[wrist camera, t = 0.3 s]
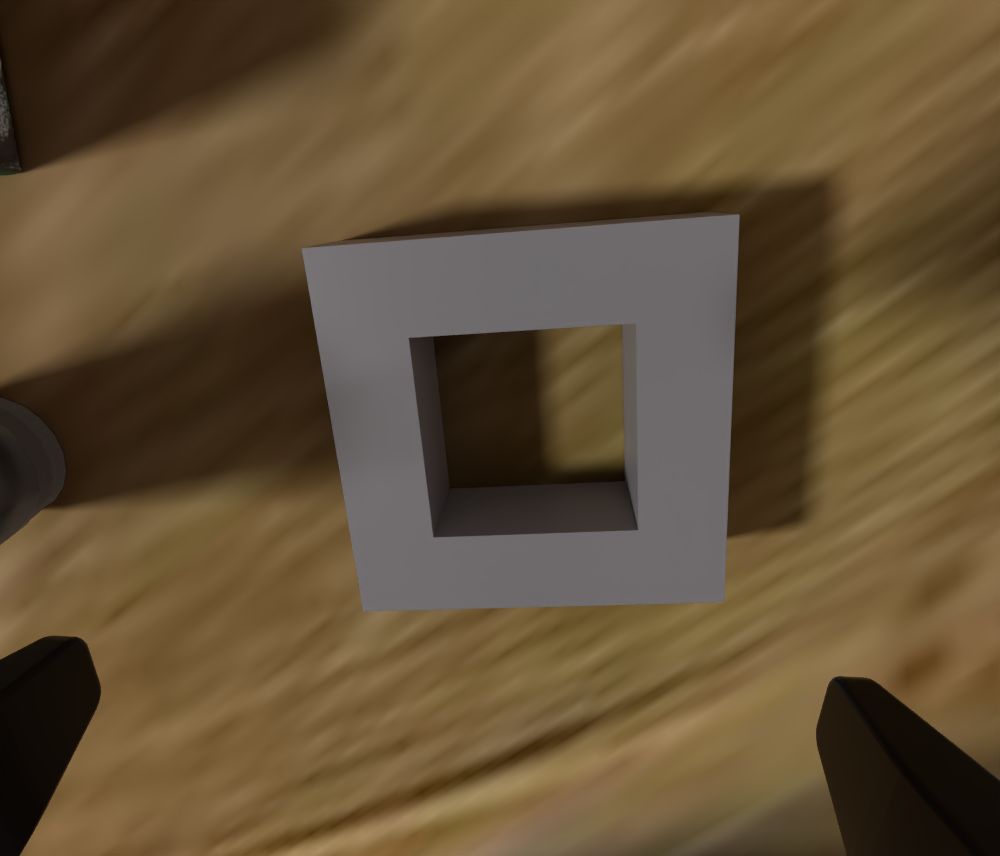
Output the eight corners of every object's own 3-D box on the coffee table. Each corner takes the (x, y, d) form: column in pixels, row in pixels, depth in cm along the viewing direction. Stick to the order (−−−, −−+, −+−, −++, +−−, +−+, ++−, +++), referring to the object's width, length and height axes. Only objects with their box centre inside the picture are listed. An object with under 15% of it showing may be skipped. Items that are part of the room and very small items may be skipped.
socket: (698, 544, 23) (724, 602, 19) (389, 554, 24) (363, 611, 20) (706, 212, 19) (739, 214, 16) (342, 240, 20) (301, 248, 17)
